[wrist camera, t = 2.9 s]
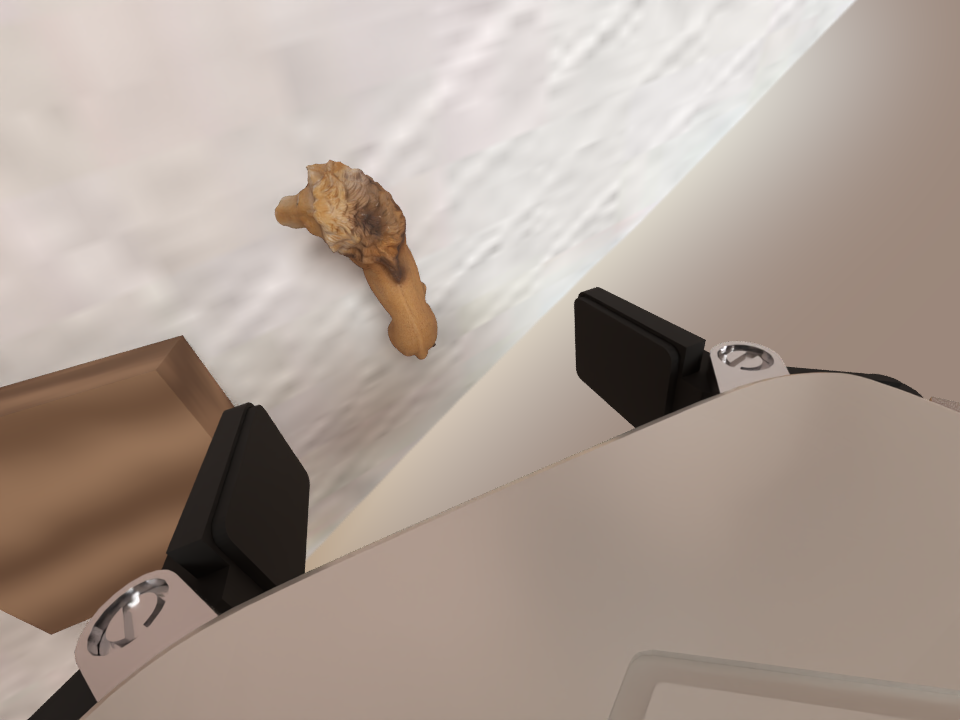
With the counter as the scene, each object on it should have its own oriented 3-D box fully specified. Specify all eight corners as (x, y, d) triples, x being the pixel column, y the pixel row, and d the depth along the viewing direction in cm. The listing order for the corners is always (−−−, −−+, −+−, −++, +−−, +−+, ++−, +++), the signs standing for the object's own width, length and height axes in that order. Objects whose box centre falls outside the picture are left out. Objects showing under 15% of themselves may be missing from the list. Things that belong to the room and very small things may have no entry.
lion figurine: (274, 184, 21) (247, 201, 14) (351, 138, 21) (365, 131, 14) (406, 359, 30) (433, 426, 22) (461, 324, 30) (504, 379, 23)
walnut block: (-130, 422, 20) (-244, 490, 16) (184, 332, 23) (155, 369, 19) (89, 566, 29) (51, 634, 25) (294, 486, 32) (290, 534, 28)
